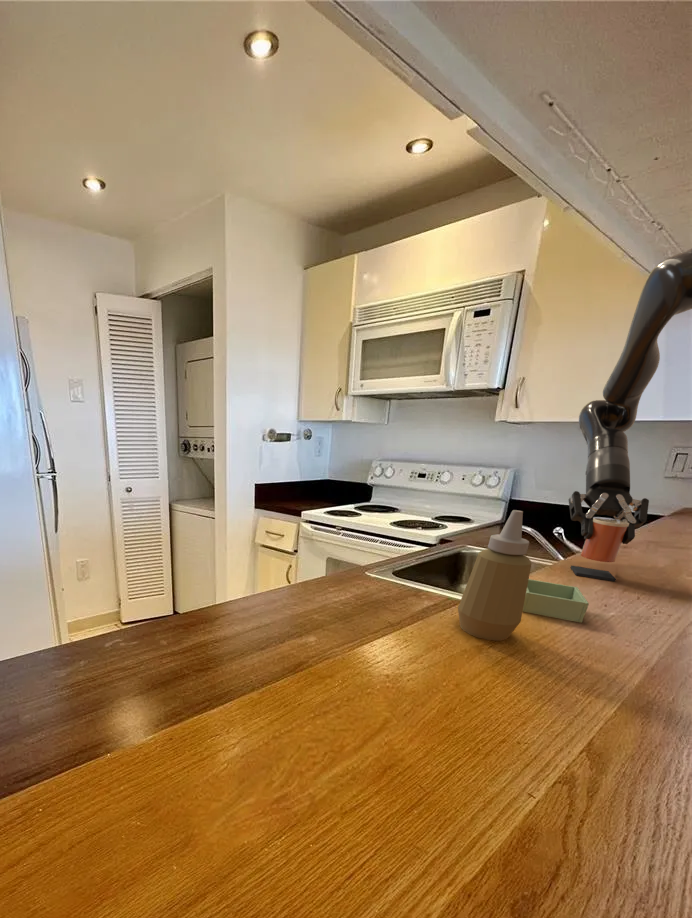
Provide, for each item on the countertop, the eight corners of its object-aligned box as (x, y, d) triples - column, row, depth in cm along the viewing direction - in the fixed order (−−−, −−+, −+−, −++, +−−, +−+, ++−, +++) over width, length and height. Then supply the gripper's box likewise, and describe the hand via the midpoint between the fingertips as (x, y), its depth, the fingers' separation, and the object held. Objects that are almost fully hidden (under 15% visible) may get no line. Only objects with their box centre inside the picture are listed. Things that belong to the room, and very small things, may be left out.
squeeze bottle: (454, 642, 65) (488, 512, 58) (449, 620, 72) (479, 502, 66) (519, 654, 63) (562, 521, 56) (507, 630, 70) (544, 509, 63)
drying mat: (607, 573, 102) (608, 571, 102) (615, 581, 97) (616, 579, 97) (570, 567, 105) (571, 565, 104) (575, 575, 99) (576, 572, 99)
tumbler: (610, 556, 101) (624, 519, 98) (619, 564, 96) (633, 525, 93) (577, 551, 103) (589, 515, 100) (583, 559, 98) (596, 521, 95)
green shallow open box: (569, 609, 80) (577, 587, 78) (580, 628, 73) (589, 603, 71) (514, 599, 83) (520, 577, 81) (519, 616, 76) (526, 592, 74)
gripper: (577, 459, 101) (575, 524, 95) (657, 466, 97) (660, 534, 91) (562, 481, 108) (560, 544, 102) (636, 488, 104) (638, 554, 98)
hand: (607, 539), depth 96 cm, fingers closed on tumbler, 6 cm apart
